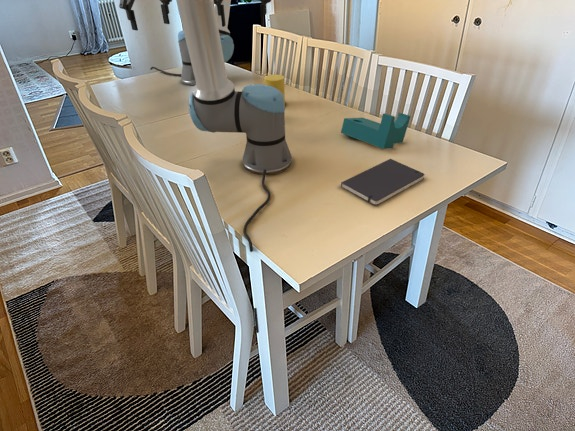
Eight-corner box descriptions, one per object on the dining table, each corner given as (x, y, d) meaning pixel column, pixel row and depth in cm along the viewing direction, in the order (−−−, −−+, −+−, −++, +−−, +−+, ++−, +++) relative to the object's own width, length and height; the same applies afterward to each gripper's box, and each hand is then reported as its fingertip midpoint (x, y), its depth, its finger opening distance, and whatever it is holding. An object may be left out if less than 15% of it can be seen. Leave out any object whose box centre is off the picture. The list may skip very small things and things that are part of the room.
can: (265, 101, 170) (264, 74, 164) (284, 100, 171) (283, 74, 164) (265, 108, 164) (264, 80, 157) (285, 107, 164) (284, 80, 158)
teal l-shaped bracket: (401, 146, 136) (410, 115, 131) (383, 149, 129) (392, 116, 124) (359, 131, 147) (366, 102, 142) (340, 132, 139) (347, 102, 135)
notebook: (389, 163, 124) (340, 187, 113) (390, 158, 123) (341, 182, 112) (424, 178, 116) (375, 206, 105) (425, 174, 115) (376, 201, 104)
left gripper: (109, -38, 128) (126, 34, 140) (174, -43, 143) (185, 22, 155) (97, -39, 132) (115, 31, 145) (162, -44, 147) (173, 20, 159)
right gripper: (277, -49, 131) (279, 23, 143) (201, -47, 132) (210, 24, 144) (275, -48, 124) (278, 27, 137) (196, -46, 126) (205, 28, 138)
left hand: (151, 26), depth 150 cm, fingers open, 13 cm apart
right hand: (243, 25), depth 140 cm, fingers open, 13 cm apart
